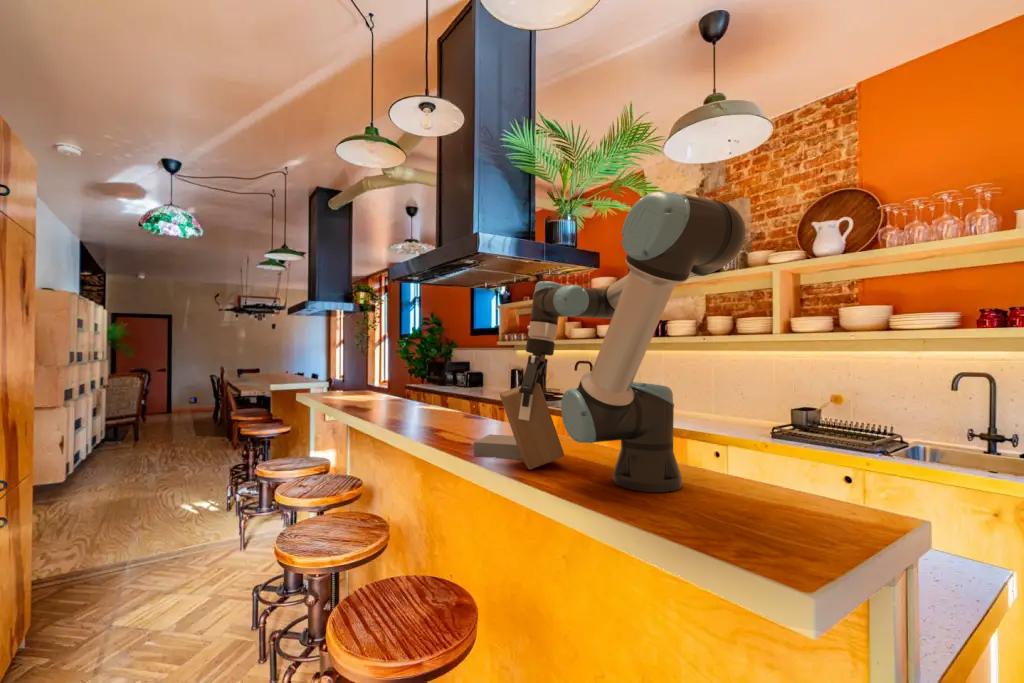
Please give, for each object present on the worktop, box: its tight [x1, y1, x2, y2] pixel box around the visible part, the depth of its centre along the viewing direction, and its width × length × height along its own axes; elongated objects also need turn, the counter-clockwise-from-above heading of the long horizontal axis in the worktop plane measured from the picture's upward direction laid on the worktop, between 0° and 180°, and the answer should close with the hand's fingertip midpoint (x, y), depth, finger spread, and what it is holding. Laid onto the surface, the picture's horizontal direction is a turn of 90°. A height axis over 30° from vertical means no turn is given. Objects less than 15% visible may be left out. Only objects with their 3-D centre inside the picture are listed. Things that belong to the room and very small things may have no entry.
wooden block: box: [499, 383, 565, 471], centre depth 124 cm, size 10×10×20 cm
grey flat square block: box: [473, 434, 522, 460], centre depth 140 cm, size 14×14×4 cm
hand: (529, 418), depth 124 cm, fingers open, 13 cm apart
